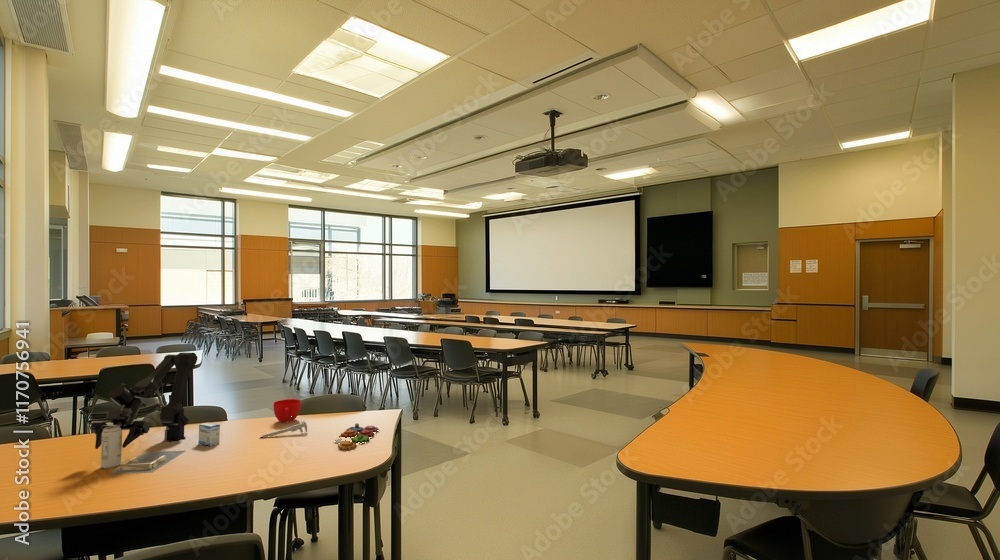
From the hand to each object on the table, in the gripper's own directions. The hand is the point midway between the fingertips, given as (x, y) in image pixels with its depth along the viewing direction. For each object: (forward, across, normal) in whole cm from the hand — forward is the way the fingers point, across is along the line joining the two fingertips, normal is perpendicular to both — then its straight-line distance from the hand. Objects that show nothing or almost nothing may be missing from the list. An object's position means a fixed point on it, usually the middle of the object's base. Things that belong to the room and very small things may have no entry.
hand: (109, 447), depth 176 cm
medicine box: (-12, +24, +23) cm, 36 cm away
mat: (+2, +12, +8) cm, 15 cm away
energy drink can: (+5, 0, +6) cm, 8 cm away
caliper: (-18, +53, +29) cm, 63 cm away
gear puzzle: (-10, +87, +21) cm, 90 cm away
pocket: (+5, +12, +5) cm, 14 cm away
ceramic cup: (-35, +48, +45) cm, 74 cm away
